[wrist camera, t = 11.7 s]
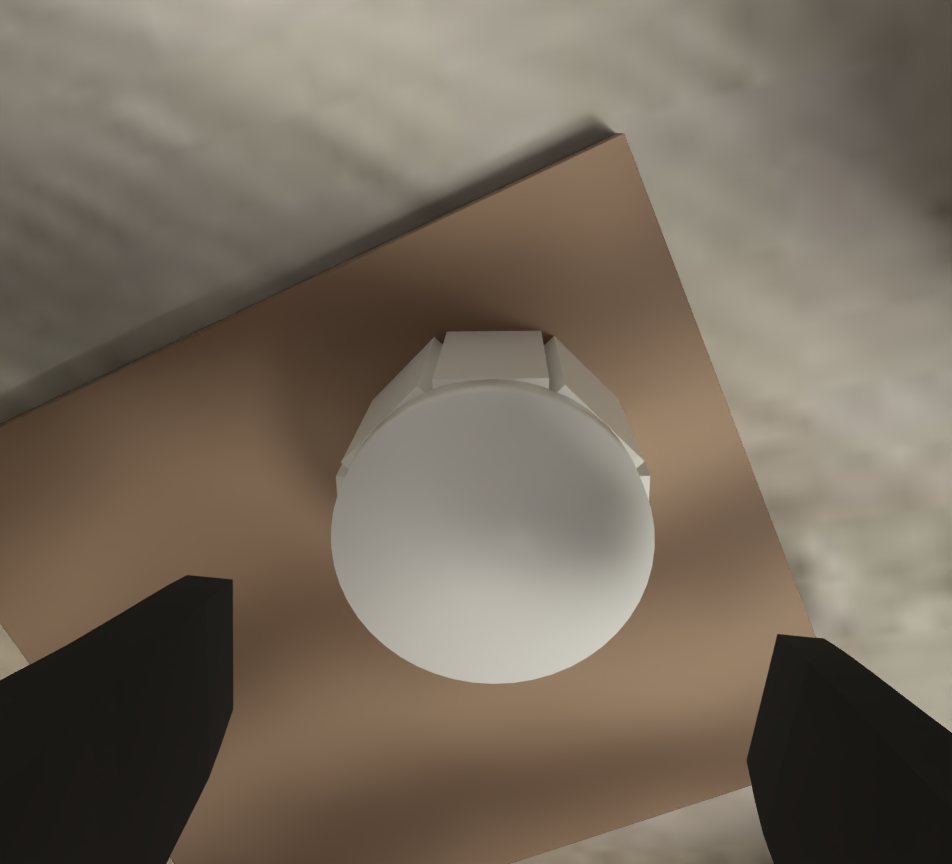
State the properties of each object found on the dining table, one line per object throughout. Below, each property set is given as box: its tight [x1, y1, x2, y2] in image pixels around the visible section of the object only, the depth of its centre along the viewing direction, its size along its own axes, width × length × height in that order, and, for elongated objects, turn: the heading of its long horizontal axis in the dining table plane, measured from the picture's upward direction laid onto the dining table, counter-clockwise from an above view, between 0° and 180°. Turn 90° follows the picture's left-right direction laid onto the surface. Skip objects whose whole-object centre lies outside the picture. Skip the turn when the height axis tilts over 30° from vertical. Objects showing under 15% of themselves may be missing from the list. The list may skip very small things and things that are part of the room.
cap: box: [331, 331, 655, 684], centre depth 17 cm, size 6×6×4 cm
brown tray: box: [0, 133, 816, 864], centre depth 20 cm, size 16×18×4 cm
